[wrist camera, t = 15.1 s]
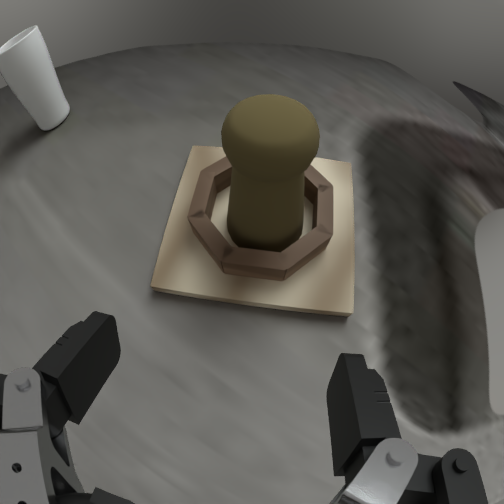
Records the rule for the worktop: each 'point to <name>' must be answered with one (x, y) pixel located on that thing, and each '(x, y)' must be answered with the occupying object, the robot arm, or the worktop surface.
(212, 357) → the worktop surface
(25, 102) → the drinking glass
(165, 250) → the board
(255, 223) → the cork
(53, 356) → the robot arm
